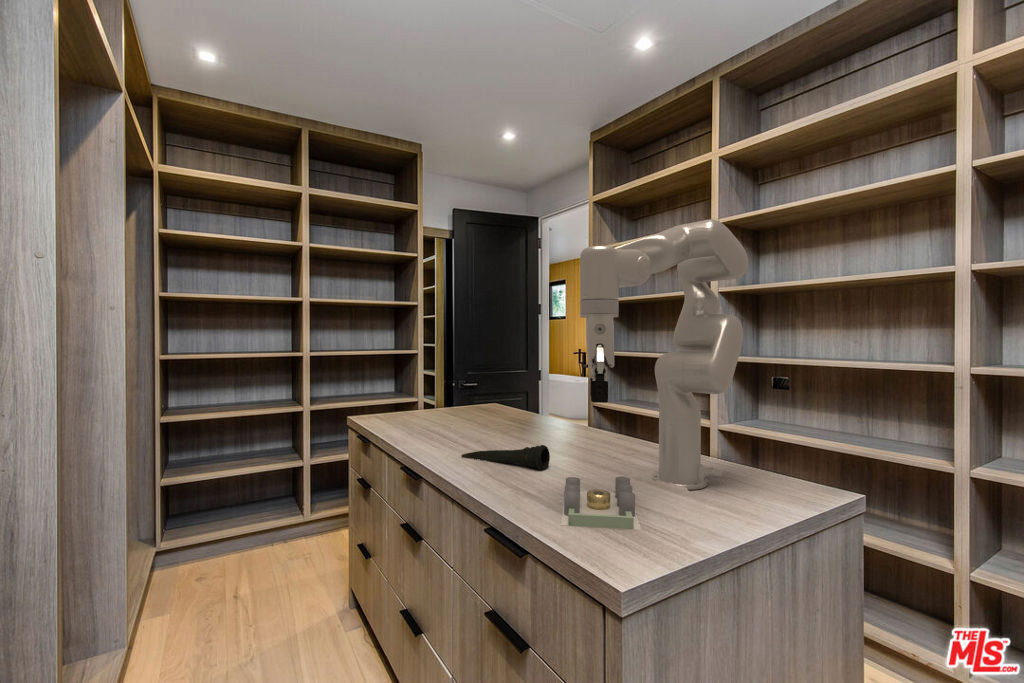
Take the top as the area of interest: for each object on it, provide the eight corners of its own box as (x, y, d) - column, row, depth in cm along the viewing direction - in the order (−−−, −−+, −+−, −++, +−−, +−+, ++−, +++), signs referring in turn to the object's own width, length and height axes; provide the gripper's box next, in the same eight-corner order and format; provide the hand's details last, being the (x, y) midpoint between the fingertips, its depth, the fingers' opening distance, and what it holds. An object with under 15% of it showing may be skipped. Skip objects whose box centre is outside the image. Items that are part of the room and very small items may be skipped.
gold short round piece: (609, 502, 98) (609, 489, 98) (610, 510, 93) (611, 497, 93) (586, 501, 98) (586, 488, 98) (587, 509, 94) (587, 495, 94)
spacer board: (629, 498, 104) (630, 474, 104) (641, 536, 84) (641, 507, 84) (565, 495, 106) (565, 472, 106) (561, 531, 86) (561, 502, 86)
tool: (552, 468, 130) (552, 443, 130) (539, 473, 124) (540, 447, 124) (474, 454, 146) (474, 432, 146) (460, 458, 140) (460, 435, 140)
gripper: (622, 306, 86) (621, 406, 86) (615, 312, 103) (615, 395, 103) (579, 307, 87) (579, 405, 87) (580, 312, 104) (580, 394, 104)
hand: (598, 398), depth 95 cm, fingers open, 7 cm apart
